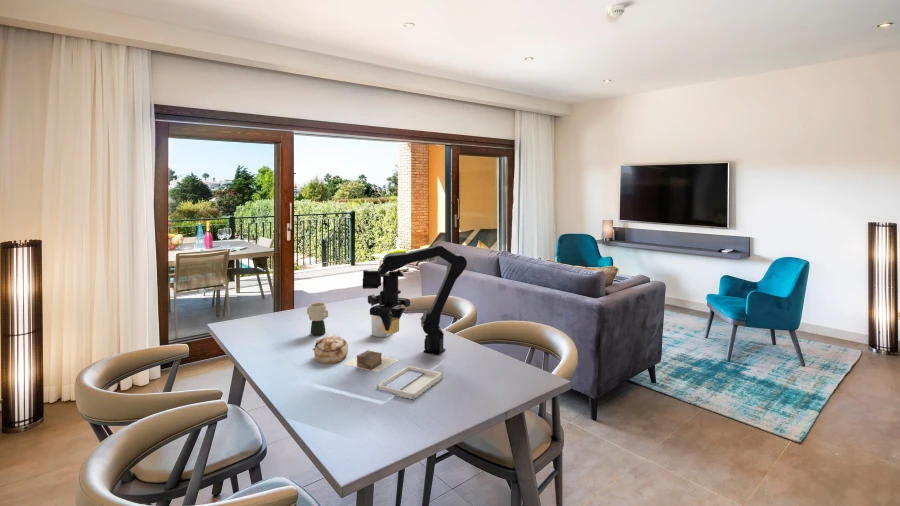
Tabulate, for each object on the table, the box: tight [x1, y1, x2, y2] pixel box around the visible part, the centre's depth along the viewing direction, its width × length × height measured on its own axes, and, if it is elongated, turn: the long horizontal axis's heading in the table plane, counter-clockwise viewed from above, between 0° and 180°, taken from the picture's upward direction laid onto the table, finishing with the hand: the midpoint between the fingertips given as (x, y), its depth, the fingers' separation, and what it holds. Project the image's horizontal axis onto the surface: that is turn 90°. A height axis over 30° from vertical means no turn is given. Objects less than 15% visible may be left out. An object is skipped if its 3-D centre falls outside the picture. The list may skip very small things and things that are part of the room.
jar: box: [370, 305, 392, 338], centre depth 196 cm, size 9×8×12 cm
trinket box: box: [312, 334, 349, 364], centre depth 168 cm, size 13×15×8 cm
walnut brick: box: [356, 350, 383, 371], centre depth 159 cm, size 6×6×4 cm
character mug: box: [306, 302, 329, 336], centre depth 195 cm, size 11×7×13 cm, turn 66°
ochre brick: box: [382, 317, 400, 335], centre depth 172 cm, size 4×4×5 cm
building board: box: [342, 355, 399, 373], centre depth 163 cm, size 15×13×1 cm
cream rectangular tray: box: [376, 365, 443, 401], centre depth 146 cm, size 13×18×2 cm
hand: (390, 328), depth 172 cm, fingers closed on ochre brick, 4 cm apart
